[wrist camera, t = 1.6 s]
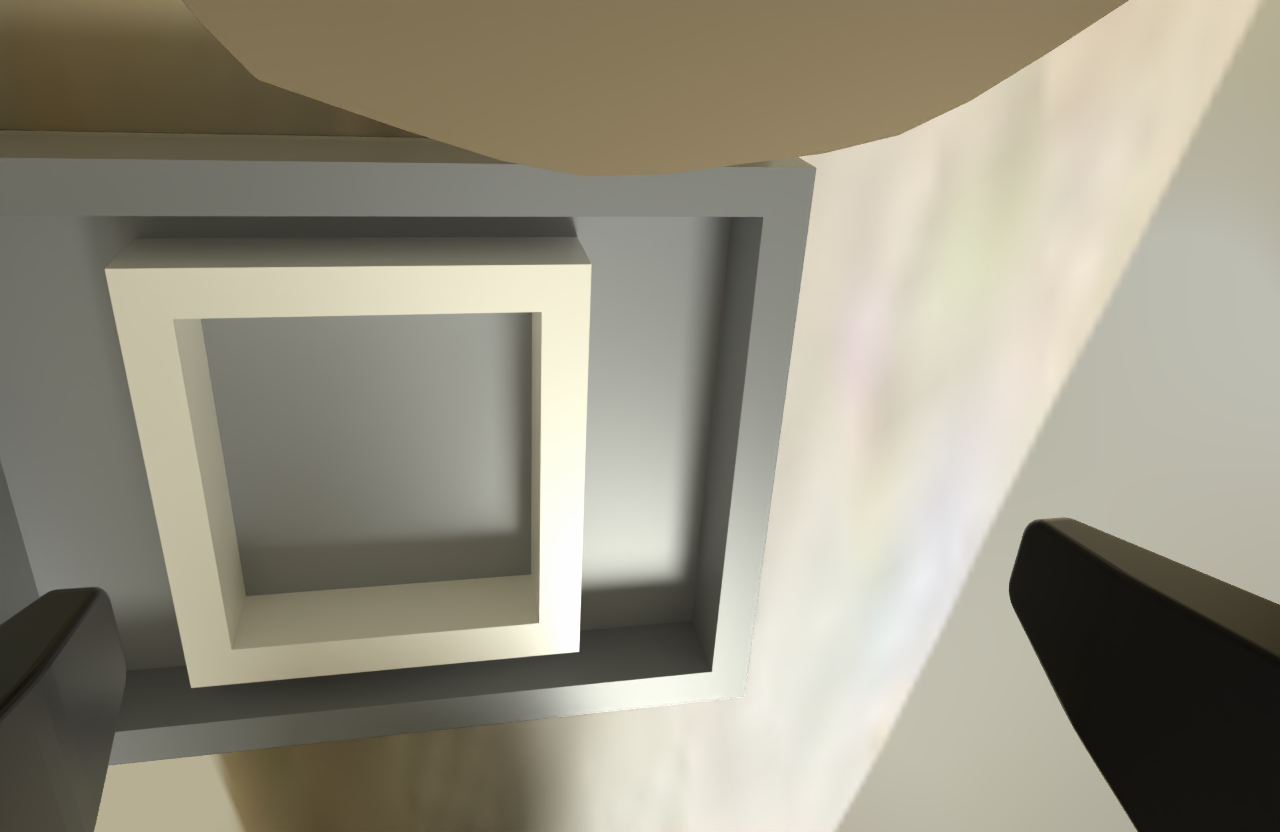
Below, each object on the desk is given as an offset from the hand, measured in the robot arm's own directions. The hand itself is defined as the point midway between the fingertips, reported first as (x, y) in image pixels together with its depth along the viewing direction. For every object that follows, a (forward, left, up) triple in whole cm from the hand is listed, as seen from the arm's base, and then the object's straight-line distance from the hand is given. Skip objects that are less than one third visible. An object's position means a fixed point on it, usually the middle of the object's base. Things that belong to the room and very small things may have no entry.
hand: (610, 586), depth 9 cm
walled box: (-5, +3, -13) cm, 14 cm away
